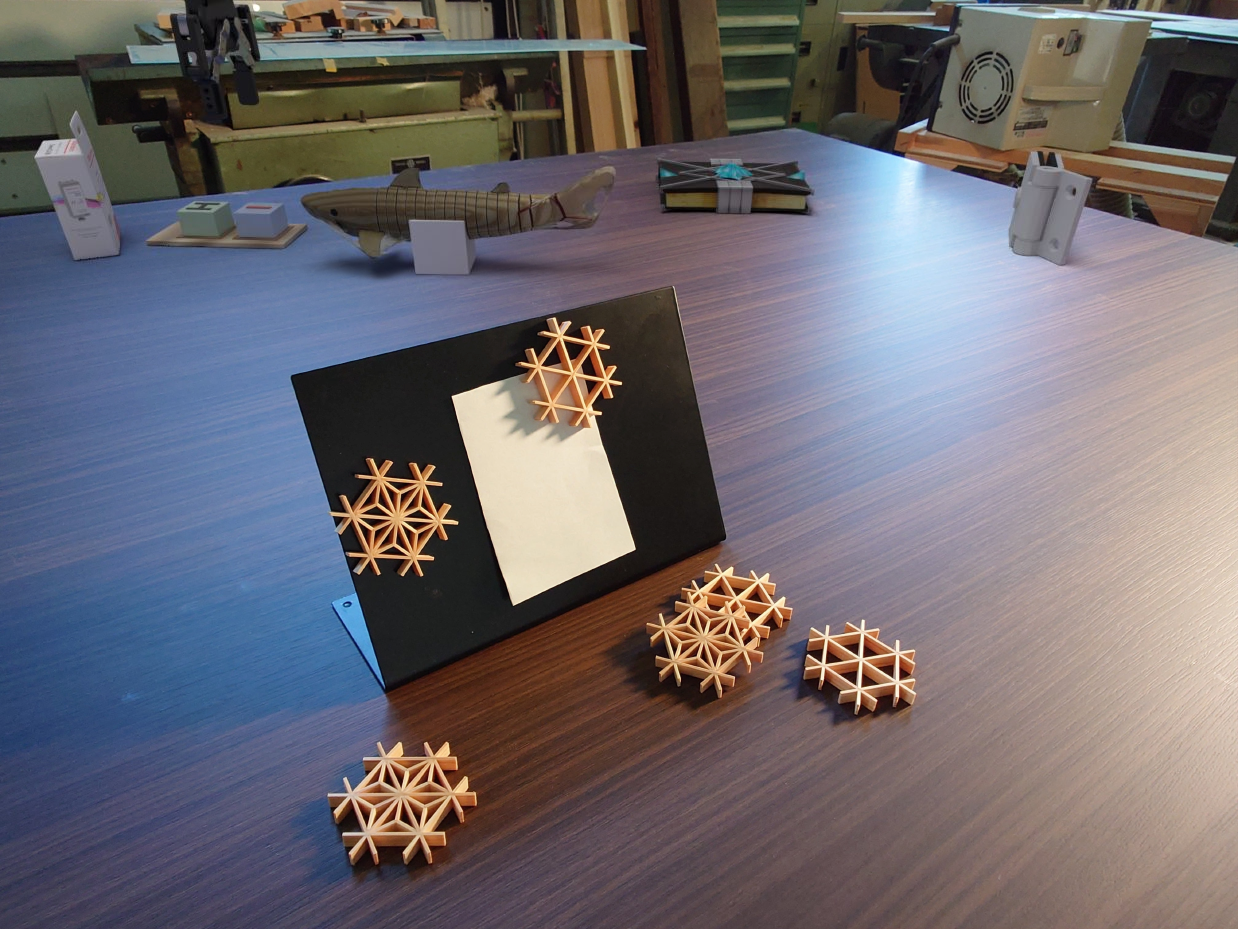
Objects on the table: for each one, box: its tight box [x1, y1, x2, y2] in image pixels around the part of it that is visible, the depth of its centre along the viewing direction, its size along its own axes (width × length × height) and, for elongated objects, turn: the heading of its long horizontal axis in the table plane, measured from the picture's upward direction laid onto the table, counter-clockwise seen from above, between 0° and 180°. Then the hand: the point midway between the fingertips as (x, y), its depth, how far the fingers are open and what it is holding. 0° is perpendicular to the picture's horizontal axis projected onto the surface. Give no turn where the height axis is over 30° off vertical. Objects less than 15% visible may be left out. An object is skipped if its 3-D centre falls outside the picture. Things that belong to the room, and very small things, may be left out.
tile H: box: [176, 200, 235, 237], centre depth 100 cm, size 4×4×3 cm
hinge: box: [1008, 150, 1094, 266], centre depth 100 cm, size 14×5×10 cm, turn 171°
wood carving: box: [300, 165, 617, 276], centre depth 91 cm, size 9×35×11 cm, turn 91°
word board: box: [145, 220, 309, 250], centre depth 101 cm, size 17×8×1 cm, turn 88°
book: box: [655, 157, 816, 215], centre depth 118 cm, size 22×17×5 cm
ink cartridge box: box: [34, 110, 122, 261], centre depth 94 cm, size 9×5×15 cm, turn 25°
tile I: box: [232, 202, 289, 238], centre depth 100 cm, size 4×4×3 cm
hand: (234, 111), depth 93 cm, fingers open, 8 cm apart
